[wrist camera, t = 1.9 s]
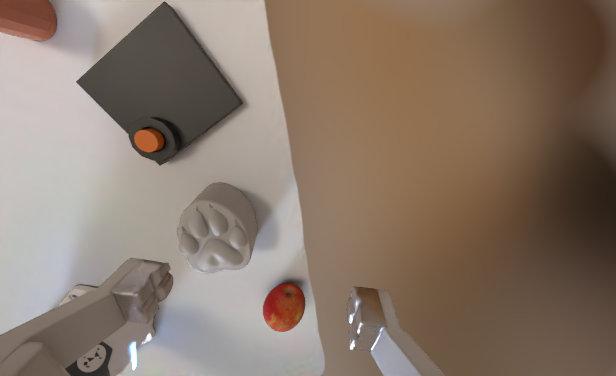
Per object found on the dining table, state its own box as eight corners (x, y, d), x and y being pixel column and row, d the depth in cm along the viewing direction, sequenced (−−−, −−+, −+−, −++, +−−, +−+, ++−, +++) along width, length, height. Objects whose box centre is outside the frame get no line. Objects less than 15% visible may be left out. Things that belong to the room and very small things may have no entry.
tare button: (154, 153, 32) (147, 156, 30) (137, 136, 31) (128, 138, 29) (169, 142, 31) (162, 144, 30) (152, 124, 30) (145, 125, 29)
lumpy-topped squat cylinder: (206, 249, 42) (187, 283, 34) (185, 186, 37) (157, 209, 29) (260, 241, 42) (254, 274, 34) (247, 179, 37) (235, 199, 29)
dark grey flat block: (166, 162, 35) (153, 168, 32) (87, 82, 30) (64, 80, 27) (243, 103, 33) (238, 103, 30) (172, 7, 28) (156, -6, 25)
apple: (259, 296, 47) (254, 332, 40) (278, 269, 45) (276, 302, 38) (291, 308, 49) (292, 344, 42) (310, 282, 47) (315, 316, 40)
